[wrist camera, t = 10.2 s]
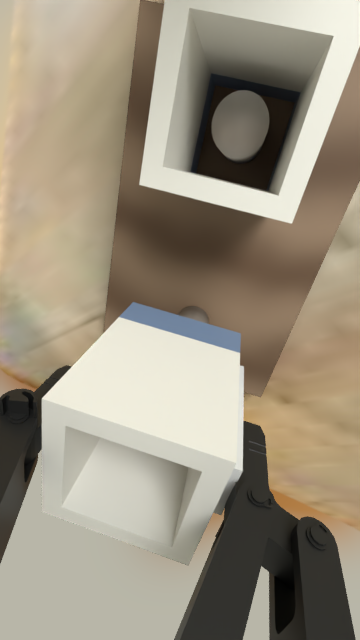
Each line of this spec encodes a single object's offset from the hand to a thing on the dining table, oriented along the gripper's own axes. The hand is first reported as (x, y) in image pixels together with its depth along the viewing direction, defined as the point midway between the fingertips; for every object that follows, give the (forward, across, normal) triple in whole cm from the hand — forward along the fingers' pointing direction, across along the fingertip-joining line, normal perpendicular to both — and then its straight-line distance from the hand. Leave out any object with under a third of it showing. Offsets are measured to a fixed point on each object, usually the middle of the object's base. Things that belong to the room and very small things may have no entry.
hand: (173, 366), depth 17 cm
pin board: (+8, 0, +6) cm, 10 cm away
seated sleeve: (+6, 0, +12) cm, 14 cm away
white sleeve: (0, 0, 0) cm, 0 cm away
